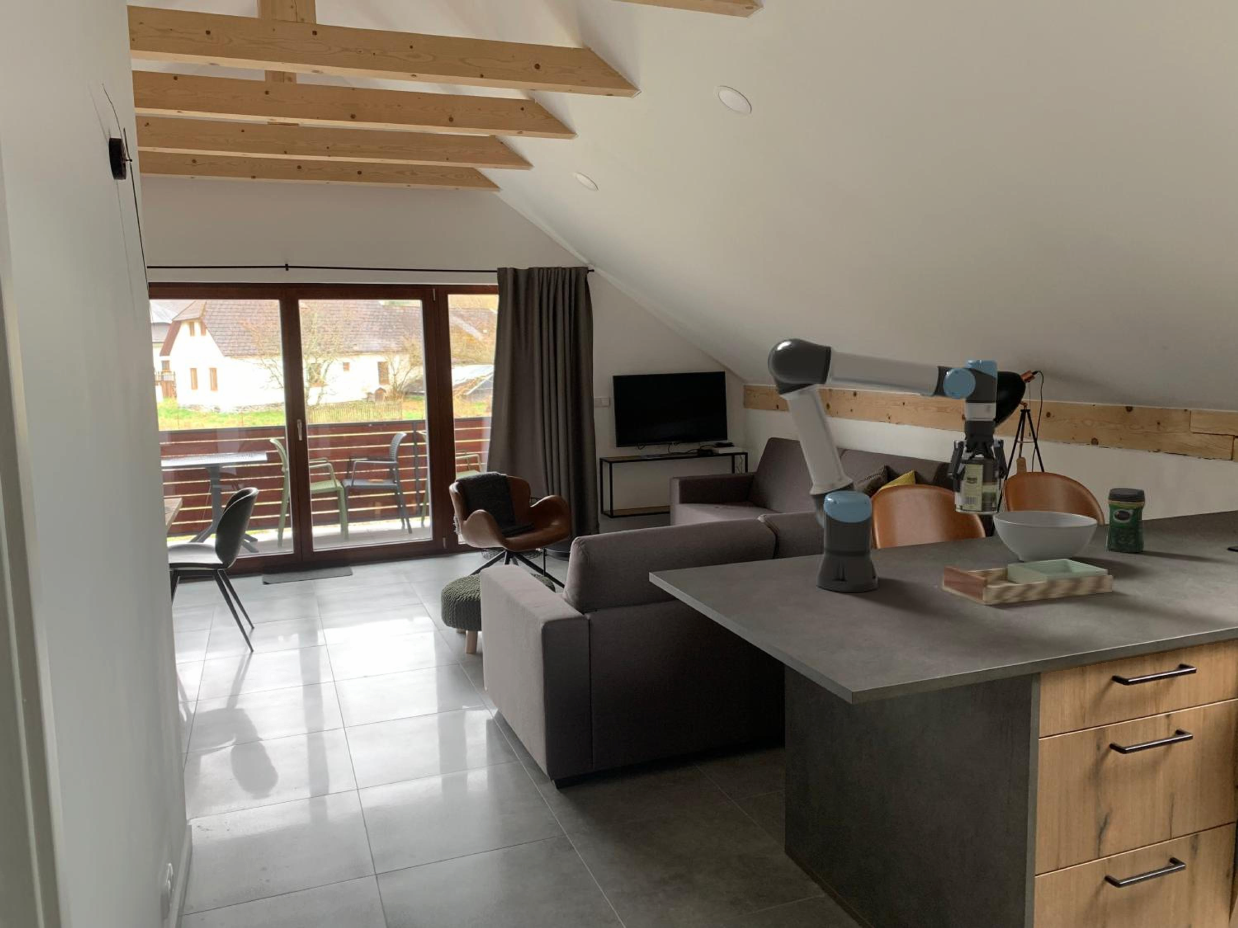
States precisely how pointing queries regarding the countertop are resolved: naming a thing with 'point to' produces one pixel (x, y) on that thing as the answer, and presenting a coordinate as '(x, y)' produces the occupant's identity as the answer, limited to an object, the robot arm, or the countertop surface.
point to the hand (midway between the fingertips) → (976, 503)
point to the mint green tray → (1051, 571)
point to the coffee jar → (1125, 520)
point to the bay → (1016, 586)
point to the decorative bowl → (1044, 533)
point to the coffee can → (980, 486)
